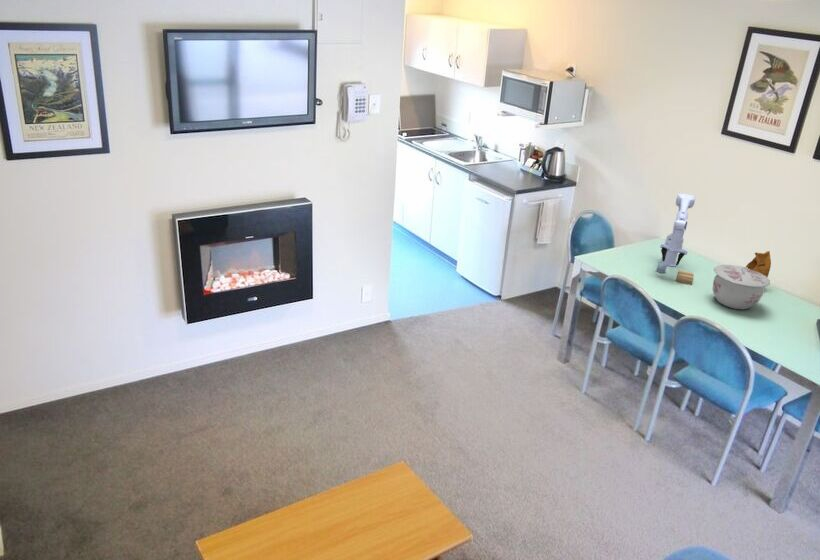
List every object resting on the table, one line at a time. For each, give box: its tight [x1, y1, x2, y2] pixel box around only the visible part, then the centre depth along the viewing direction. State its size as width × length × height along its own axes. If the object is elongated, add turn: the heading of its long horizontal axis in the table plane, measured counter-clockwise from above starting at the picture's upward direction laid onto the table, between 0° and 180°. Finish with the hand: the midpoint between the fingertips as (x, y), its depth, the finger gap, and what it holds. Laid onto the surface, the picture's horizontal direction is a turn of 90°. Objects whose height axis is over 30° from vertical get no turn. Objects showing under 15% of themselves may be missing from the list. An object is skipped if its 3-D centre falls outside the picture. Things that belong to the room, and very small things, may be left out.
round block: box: [655, 262, 668, 274], centre depth 387 cm, size 5×5×4 cm
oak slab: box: [677, 269, 695, 283], centre depth 377 cm, size 8×8×2 cm
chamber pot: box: [712, 264, 771, 310], centre depth 351 cm, size 28×28×21 cm
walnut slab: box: [676, 273, 693, 286], centre depth 378 cm, size 8×8×2 cm
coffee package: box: [745, 250, 772, 278], centre depth 373 cm, size 10×12×22 cm
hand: (670, 262), depth 375 cm, fingers open, 7 cm apart
